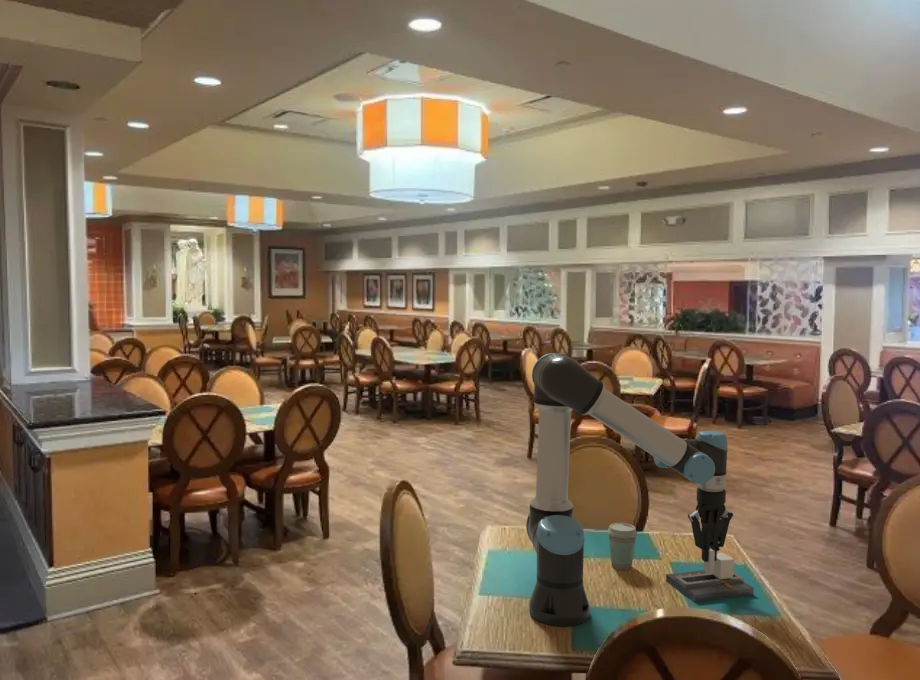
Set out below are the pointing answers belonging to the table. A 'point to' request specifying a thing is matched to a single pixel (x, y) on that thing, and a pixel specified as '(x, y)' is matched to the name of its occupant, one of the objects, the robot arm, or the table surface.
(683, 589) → the console
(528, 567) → the table surface
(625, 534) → the coffee cup
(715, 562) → the fader tab
